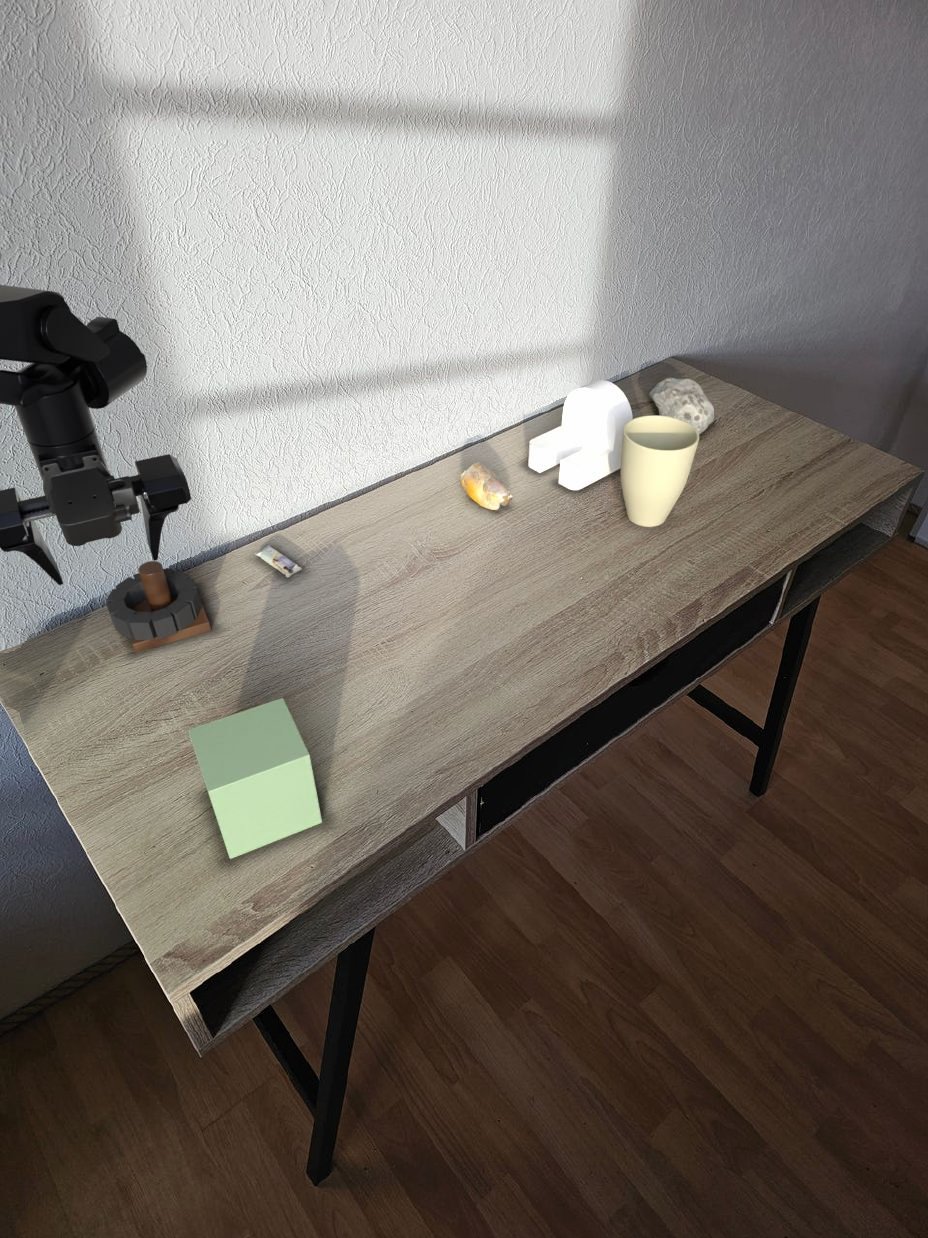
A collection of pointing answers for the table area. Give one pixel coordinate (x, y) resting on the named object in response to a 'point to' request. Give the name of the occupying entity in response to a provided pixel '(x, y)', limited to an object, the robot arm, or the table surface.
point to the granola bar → (278, 561)
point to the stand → (162, 606)
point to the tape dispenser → (584, 436)
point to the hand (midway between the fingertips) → (108, 570)
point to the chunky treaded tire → (159, 620)
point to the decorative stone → (683, 402)
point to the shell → (485, 487)
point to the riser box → (257, 776)
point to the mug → (655, 466)
